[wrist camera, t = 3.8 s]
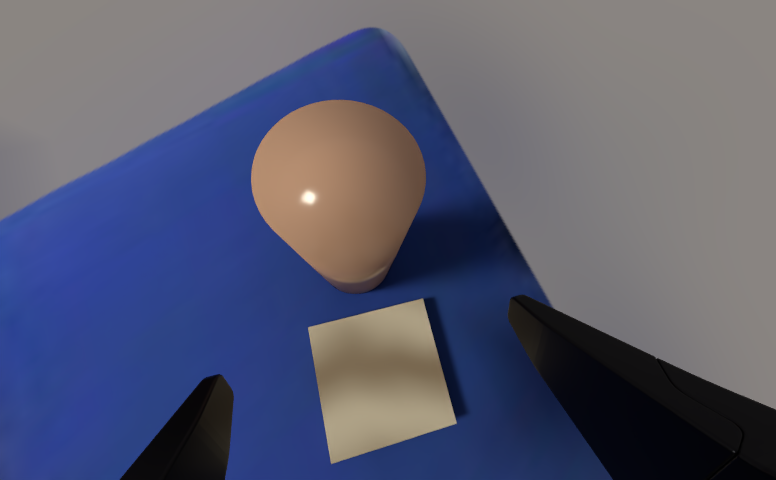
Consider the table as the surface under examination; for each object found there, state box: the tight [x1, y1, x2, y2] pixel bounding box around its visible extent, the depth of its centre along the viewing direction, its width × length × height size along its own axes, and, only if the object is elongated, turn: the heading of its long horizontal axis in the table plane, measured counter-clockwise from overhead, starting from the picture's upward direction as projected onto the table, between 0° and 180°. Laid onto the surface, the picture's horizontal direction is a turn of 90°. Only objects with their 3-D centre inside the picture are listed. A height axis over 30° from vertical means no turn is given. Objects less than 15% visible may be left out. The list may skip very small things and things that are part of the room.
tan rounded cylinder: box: [251, 100, 426, 294], centre depth 15 cm, size 5×5×13 cm
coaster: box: [308, 299, 457, 464], centre depth 19 cm, size 8×8×1 cm
